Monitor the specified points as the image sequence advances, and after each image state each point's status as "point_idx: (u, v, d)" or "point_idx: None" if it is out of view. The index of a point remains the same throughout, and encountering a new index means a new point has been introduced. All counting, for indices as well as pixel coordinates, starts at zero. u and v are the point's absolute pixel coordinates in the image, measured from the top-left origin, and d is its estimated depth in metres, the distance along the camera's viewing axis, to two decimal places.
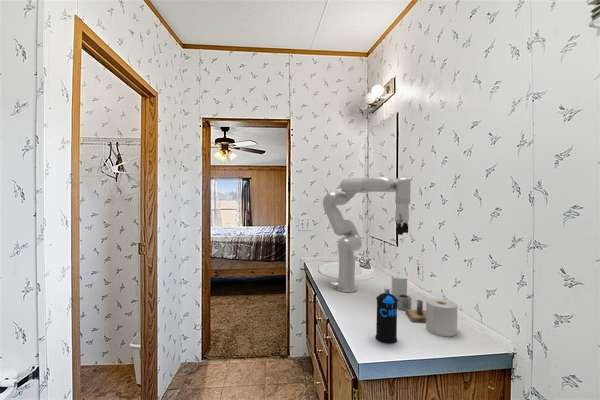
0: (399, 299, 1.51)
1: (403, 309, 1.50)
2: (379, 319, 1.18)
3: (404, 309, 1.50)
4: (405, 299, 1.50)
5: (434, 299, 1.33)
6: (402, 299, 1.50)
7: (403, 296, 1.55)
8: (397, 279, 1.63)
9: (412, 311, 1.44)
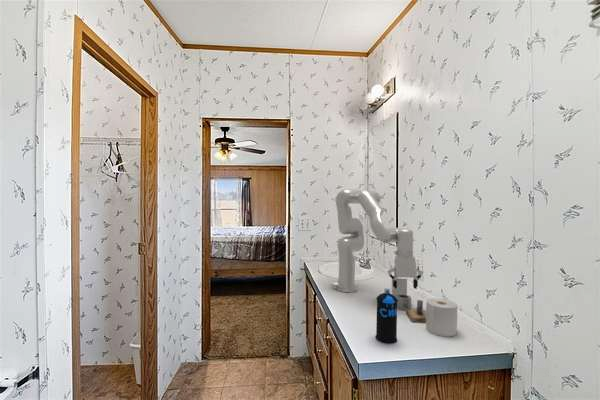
0: (399, 299, 1.51)
1: (403, 309, 1.50)
2: (379, 319, 1.18)
3: (404, 309, 1.50)
4: (405, 299, 1.50)
5: (434, 299, 1.33)
6: (402, 299, 1.50)
7: (403, 296, 1.55)
8: (397, 279, 1.63)
9: (412, 311, 1.44)
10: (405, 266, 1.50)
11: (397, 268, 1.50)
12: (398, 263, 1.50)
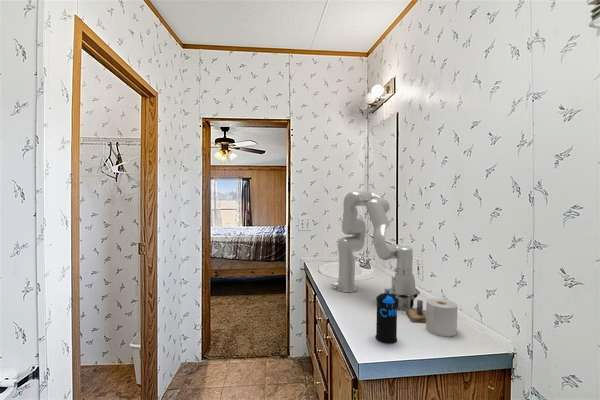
0: (399, 299, 1.51)
1: (403, 309, 1.50)
2: (379, 319, 1.18)
3: (404, 309, 1.50)
4: (405, 299, 1.50)
5: (434, 299, 1.33)
6: (402, 299, 1.50)
7: (403, 296, 1.55)
8: None
9: (412, 311, 1.44)
10: (404, 284, 1.50)
11: (396, 286, 1.51)
12: (397, 281, 1.51)
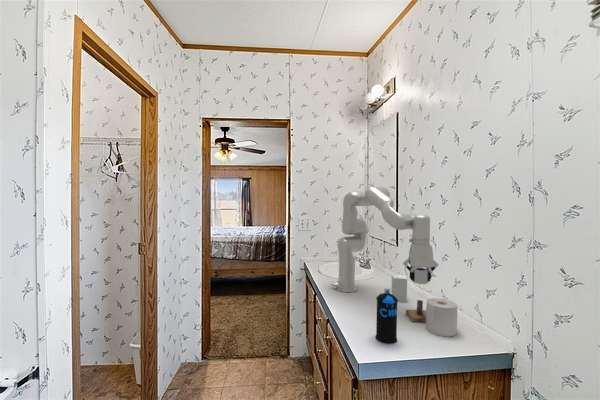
0: (415, 272, 1.39)
1: (420, 282, 1.38)
2: (379, 319, 1.18)
3: (421, 282, 1.38)
4: (422, 271, 1.38)
5: (434, 299, 1.33)
6: (419, 271, 1.38)
7: (419, 269, 1.43)
8: (397, 279, 1.63)
9: (412, 311, 1.44)
10: (421, 255, 1.38)
11: (412, 257, 1.39)
12: (413, 252, 1.38)
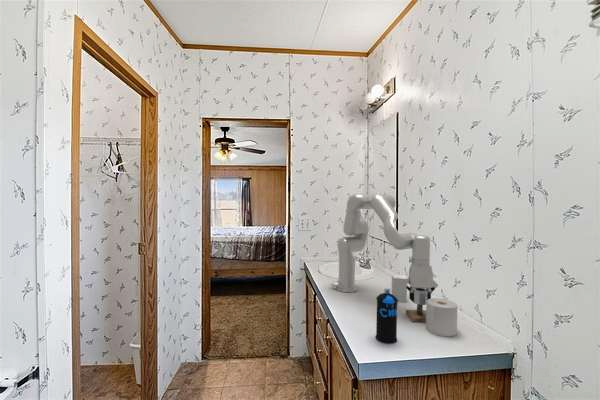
0: (415, 292, 1.39)
1: (420, 303, 1.38)
2: (379, 319, 1.18)
3: (421, 303, 1.38)
4: (422, 292, 1.38)
5: (434, 299, 1.33)
6: (419, 292, 1.38)
7: (419, 289, 1.43)
8: (397, 279, 1.63)
9: (412, 311, 1.44)
10: (421, 276, 1.38)
11: (412, 278, 1.39)
12: (413, 272, 1.38)
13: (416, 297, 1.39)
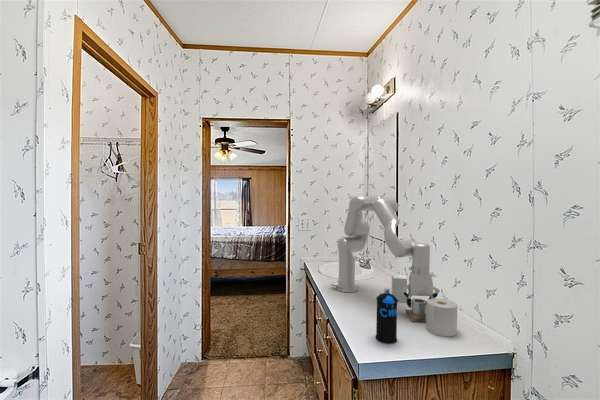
0: (414, 304, 1.39)
1: (419, 315, 1.38)
2: (379, 319, 1.18)
3: (420, 315, 1.38)
4: (421, 304, 1.38)
5: (434, 299, 1.33)
6: (418, 304, 1.38)
7: None
8: (397, 279, 1.63)
9: None
10: (421, 284, 1.38)
11: (412, 286, 1.39)
12: (413, 280, 1.39)
13: (415, 309, 1.39)
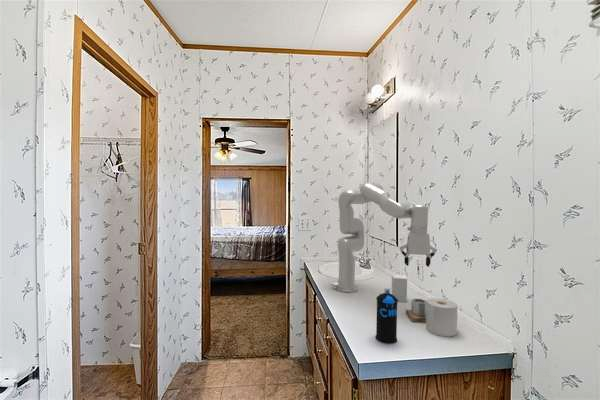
0: (414, 304, 1.39)
1: (419, 315, 1.38)
2: (379, 319, 1.18)
3: (420, 315, 1.38)
4: (421, 304, 1.38)
5: (434, 299, 1.33)
6: (418, 304, 1.38)
7: None
8: (397, 279, 1.63)
9: None
10: (418, 243, 1.44)
11: (410, 244, 1.45)
12: (411, 239, 1.45)
13: (415, 309, 1.39)
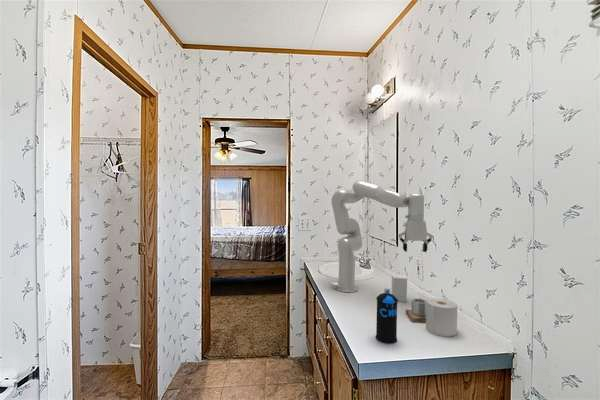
0: (414, 304, 1.39)
1: (419, 315, 1.38)
2: (379, 319, 1.18)
3: (420, 315, 1.38)
4: (421, 304, 1.38)
5: (434, 299, 1.33)
6: (418, 304, 1.38)
7: None
8: (397, 279, 1.63)
9: None
10: (416, 229, 1.53)
11: (408, 231, 1.53)
12: (409, 226, 1.53)
13: (415, 309, 1.39)
